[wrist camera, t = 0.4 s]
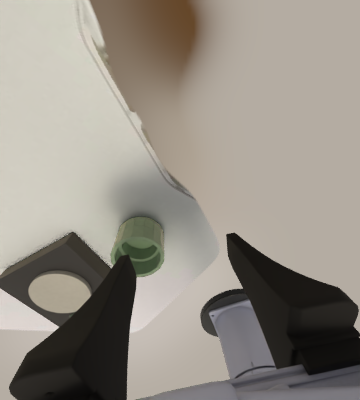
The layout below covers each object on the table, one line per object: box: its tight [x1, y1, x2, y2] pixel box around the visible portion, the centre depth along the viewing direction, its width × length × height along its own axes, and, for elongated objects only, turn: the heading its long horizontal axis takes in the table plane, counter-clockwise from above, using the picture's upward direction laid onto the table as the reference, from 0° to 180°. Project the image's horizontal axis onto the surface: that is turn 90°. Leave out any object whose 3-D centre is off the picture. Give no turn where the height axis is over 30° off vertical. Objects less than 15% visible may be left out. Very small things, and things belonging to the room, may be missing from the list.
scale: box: [0, 232, 111, 327], centre depth 25 cm, size 11×11×3 cm
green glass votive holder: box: [111, 217, 164, 277], centre depth 22 cm, size 6×6×4 cm
